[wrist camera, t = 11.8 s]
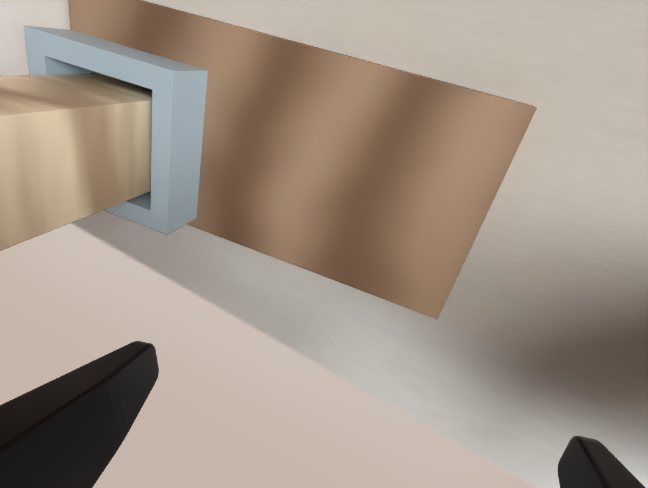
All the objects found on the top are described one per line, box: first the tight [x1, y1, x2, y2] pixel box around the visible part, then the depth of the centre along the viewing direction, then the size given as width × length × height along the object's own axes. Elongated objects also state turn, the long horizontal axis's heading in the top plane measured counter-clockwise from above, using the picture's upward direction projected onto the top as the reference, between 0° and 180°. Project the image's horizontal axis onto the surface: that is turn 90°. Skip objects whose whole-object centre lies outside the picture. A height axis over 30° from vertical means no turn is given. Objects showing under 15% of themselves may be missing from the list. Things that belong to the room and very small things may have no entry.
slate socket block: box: [24, 26, 208, 235], centre depth 20 cm, size 8×8×2 cm
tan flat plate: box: [68, 0, 537, 319], centre depth 19 cm, size 22×10×1 cm, turn 76°
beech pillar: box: [0, 74, 152, 251], centre depth 15 cm, size 4×4×12 cm
